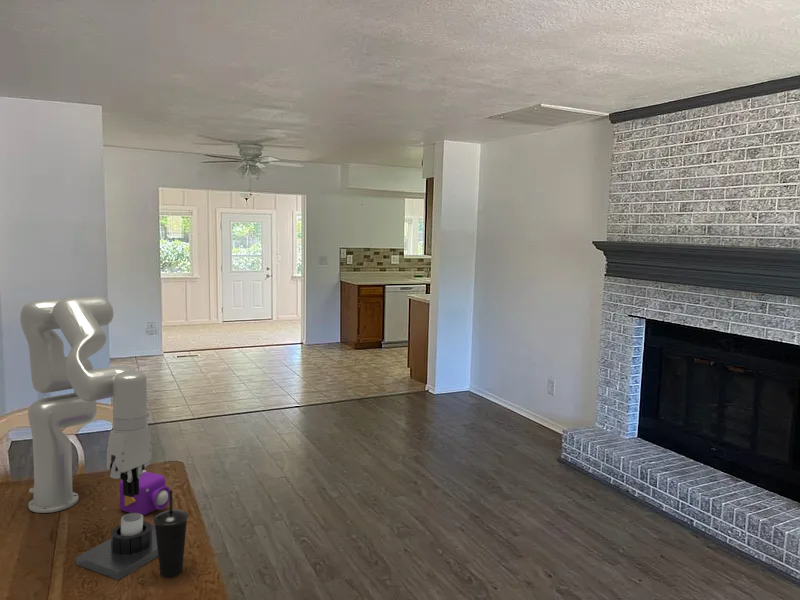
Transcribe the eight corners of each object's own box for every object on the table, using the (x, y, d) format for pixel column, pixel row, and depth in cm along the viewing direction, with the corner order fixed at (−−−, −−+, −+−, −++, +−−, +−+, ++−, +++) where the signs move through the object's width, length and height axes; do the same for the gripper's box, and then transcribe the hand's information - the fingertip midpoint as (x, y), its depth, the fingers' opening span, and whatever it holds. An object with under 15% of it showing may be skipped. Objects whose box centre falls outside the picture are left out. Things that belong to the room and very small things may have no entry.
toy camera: (157, 521, 166) (157, 486, 165) (114, 514, 169) (113, 480, 168) (179, 504, 177) (179, 471, 176) (138, 498, 179) (137, 466, 178)
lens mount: (76, 564, 143) (75, 540, 142) (143, 528, 161) (142, 507, 161) (118, 580, 137) (118, 555, 137) (182, 541, 156) (182, 519, 155)
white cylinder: (115, 546, 148) (116, 518, 147) (130, 537, 152) (131, 510, 152) (132, 551, 146) (133, 523, 145) (146, 542, 151) (147, 514, 150)
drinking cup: (177, 559, 147) (177, 481, 145) (194, 571, 142) (194, 490, 140) (147, 572, 141) (146, 491, 139) (164, 585, 136) (164, 501, 134)
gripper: (143, 412, 154) (144, 480, 156) (92, 428, 140) (93, 503, 142) (165, 416, 151) (166, 486, 153) (115, 433, 137) (116, 510, 139)
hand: (131, 494), depth 148 cm, fingers closed
